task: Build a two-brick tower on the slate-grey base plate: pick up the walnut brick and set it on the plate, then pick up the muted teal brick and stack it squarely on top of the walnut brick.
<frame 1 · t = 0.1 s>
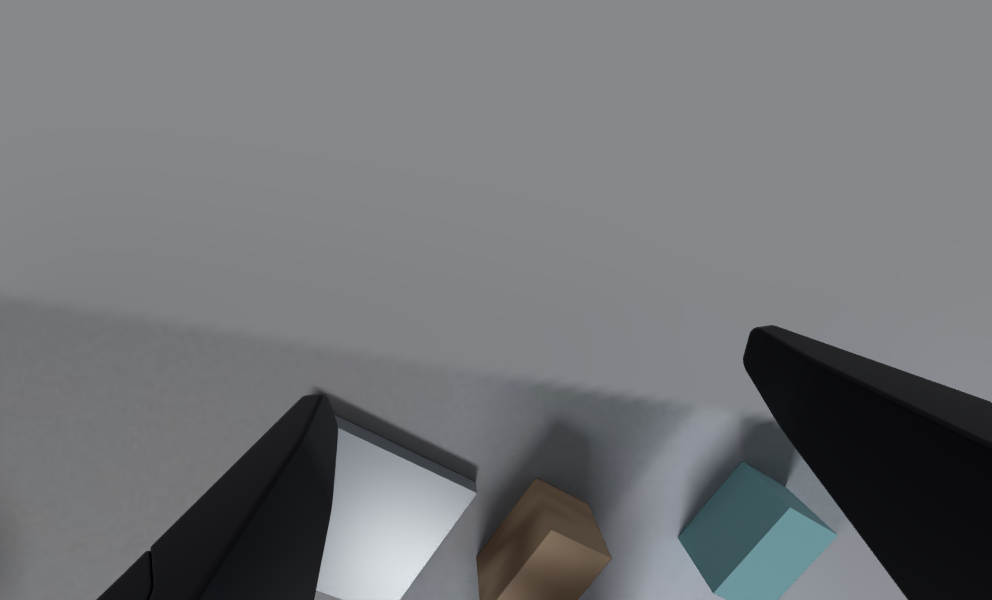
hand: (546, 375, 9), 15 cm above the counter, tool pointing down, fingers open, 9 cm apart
base plate: (355, 512, 27), on the counter
walnut brick: (531, 529, 30), on the counter
teal brick: (729, 510, 31), on the counter
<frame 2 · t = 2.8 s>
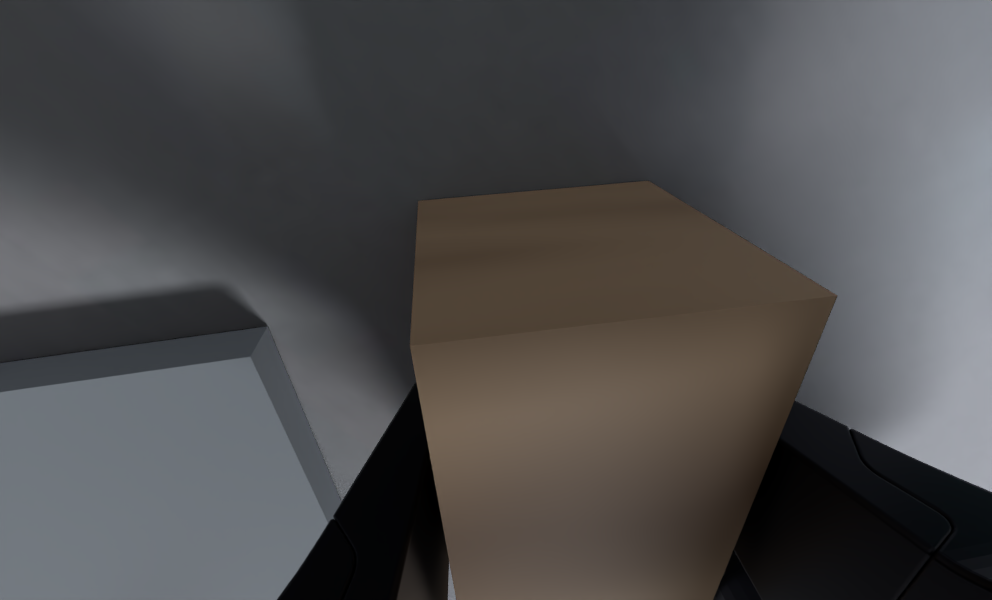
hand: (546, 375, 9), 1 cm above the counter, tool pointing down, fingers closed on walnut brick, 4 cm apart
base plate: (122, 532, 11), on the counter
walnut brick: (536, 345, 10), on the counter, touching gripper
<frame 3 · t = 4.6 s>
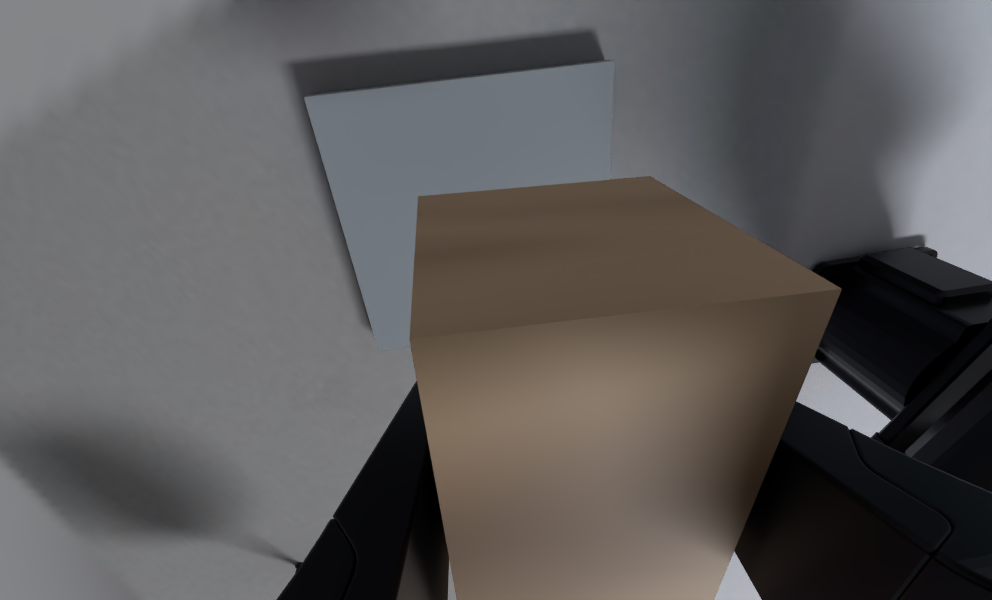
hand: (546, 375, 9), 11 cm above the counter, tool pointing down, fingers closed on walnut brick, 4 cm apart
base plate: (478, 217, 19), on the counter
walnut brick: (536, 342, 10), point 10 cm above the counter, touching gripper
when the fingers open (3 cm above the counter, at t = 6.5 s): walnut brick drops 1 cm, resting on base plate.
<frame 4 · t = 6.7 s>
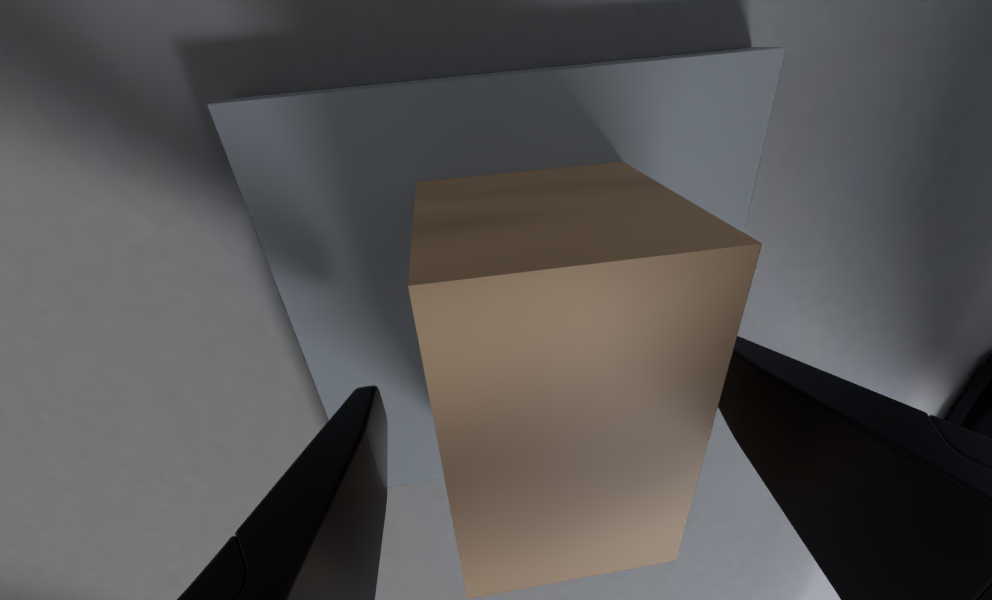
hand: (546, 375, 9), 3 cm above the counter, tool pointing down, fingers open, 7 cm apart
base plate: (517, 298, 12), on the counter
walnut brick: (526, 315, 11), point 1 cm above the counter, touching base plate
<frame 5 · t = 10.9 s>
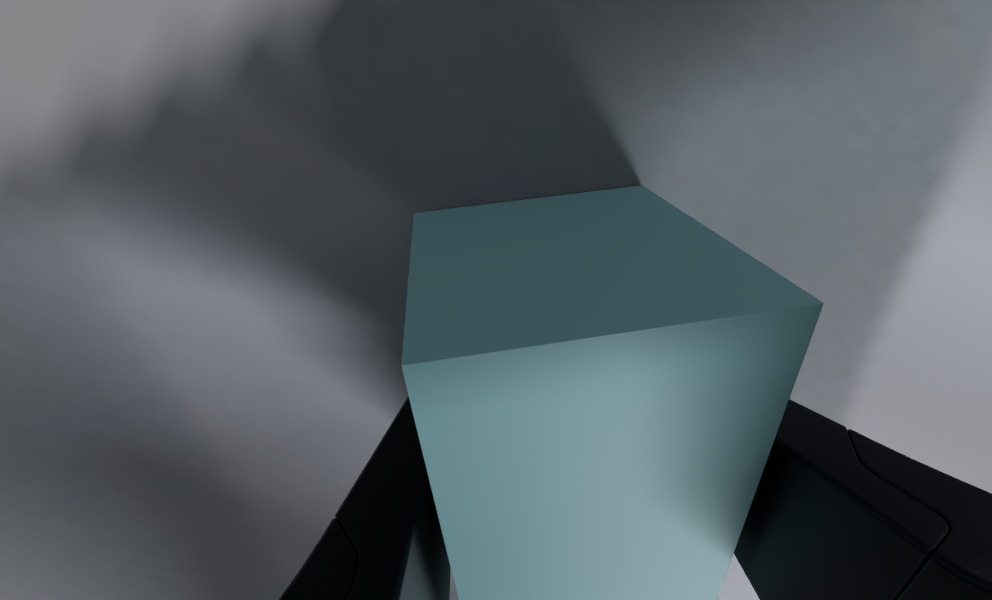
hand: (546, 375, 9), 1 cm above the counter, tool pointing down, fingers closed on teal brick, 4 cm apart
teal brick: (536, 350, 10), on the counter, touching gripper
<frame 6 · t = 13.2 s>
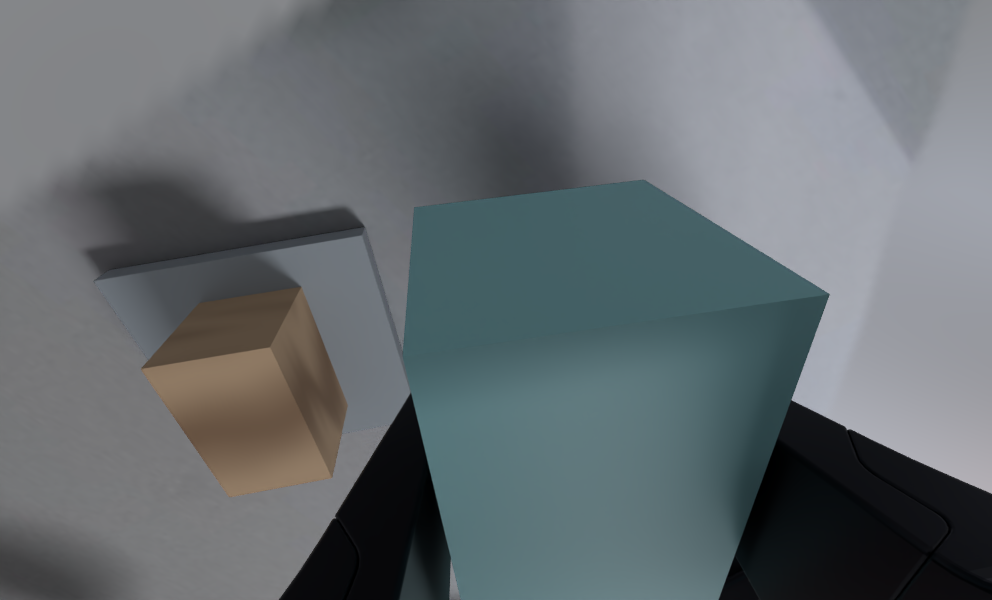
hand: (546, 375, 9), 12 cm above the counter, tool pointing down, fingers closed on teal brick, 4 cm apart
base plate: (286, 348, 22), on the counter
walnut brick: (280, 359, 21), point 1 cm above the counter, touching base plate
teal brick: (537, 346, 10), point 11 cm above the counter, touching gripper
when the fingers open (8 cm above the counter, at t = 15.3 s): teal brick drops 1 cm, resting on walnut brick.
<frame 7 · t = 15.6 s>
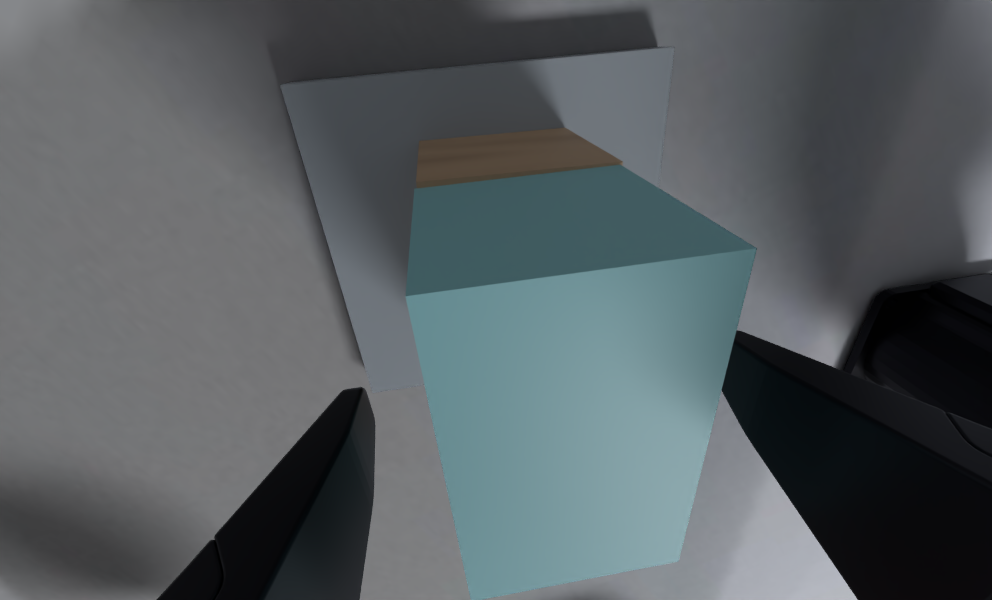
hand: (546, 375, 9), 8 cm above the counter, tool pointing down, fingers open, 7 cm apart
base plate: (495, 236, 16), on the counter
walnut brick: (500, 245, 15), point 1 cm above the counter, touching base plate, teal brick
teal brick: (526, 319, 11), point 5 cm above the counter, touching walnut brick
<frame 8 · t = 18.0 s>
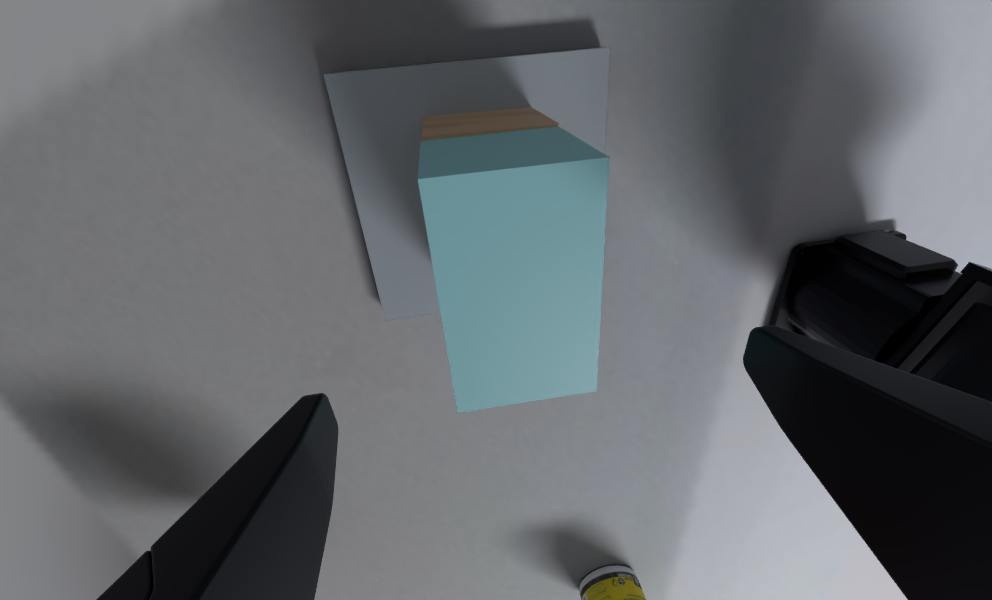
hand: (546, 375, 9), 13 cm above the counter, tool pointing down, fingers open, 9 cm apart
base plate: (481, 194, 20), on the counter
walnut brick: (484, 199, 19), point 1 cm above the counter, touching base plate, teal brick
supplement bottle: (605, 577, 40), on the counter
teal brick: (498, 239, 16), point 5 cm above the counter, touching walnut brick
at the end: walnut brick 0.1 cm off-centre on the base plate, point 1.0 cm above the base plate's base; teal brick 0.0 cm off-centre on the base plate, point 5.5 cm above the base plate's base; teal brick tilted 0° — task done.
